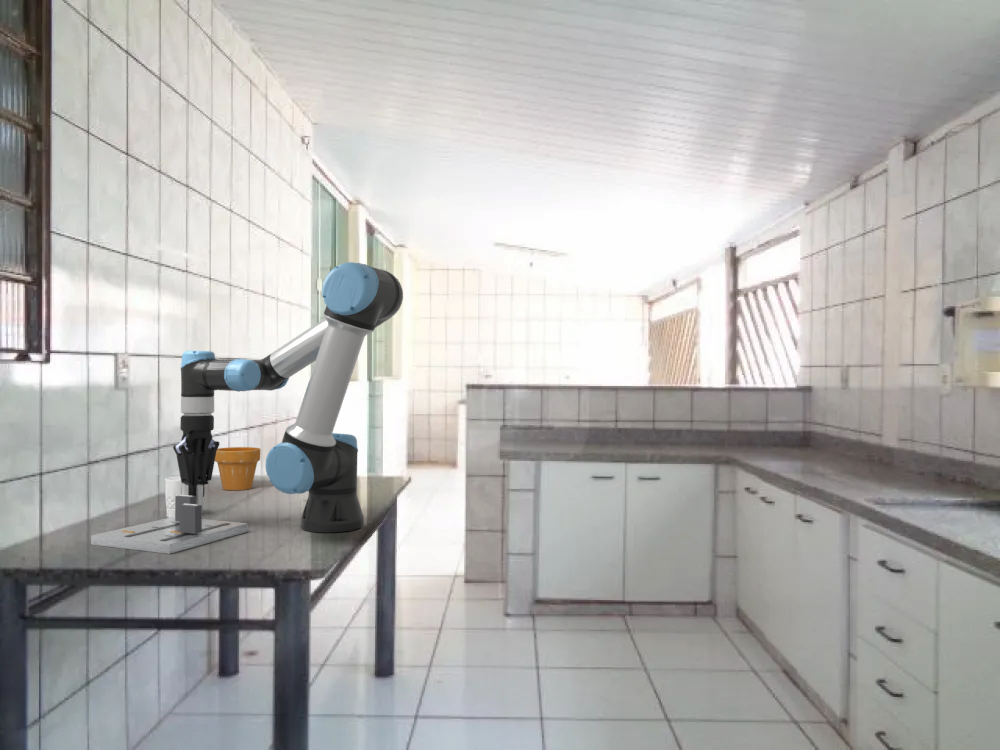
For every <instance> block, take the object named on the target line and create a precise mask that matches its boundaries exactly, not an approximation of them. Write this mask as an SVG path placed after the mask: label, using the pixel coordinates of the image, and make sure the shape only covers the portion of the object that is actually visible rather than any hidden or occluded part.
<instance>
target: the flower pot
mask: <svg viewBox="0 0 1000 750" xmlns="http://www.w3.org/2000/svg"><path fill="white" fill-rule="evenodd" d="M260 460H261V448H259V447H251V446H238V447H237V446H231V447H230V446H229V447H218V449H217V451H216V456H215V462H216V463H217V468H218V472H219V476H220V482H221V486H222V489H223V490H225V491H245V490H246V491H247V490H250V489H252V487H253V483H254V480H255V479H254V478H255V474H256V469H257V464H258V462H259V461H260ZM215 462H214V463H215Z"/></svg>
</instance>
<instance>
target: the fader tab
mask: <svg viewBox="0 0 1000 750" xmlns="http://www.w3.org/2000/svg"><path fill="white" fill-rule="evenodd" d="M182 504H196V496H190V495H178V496H175V521H177V522H179V510H180V505H182Z"/></svg>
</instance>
